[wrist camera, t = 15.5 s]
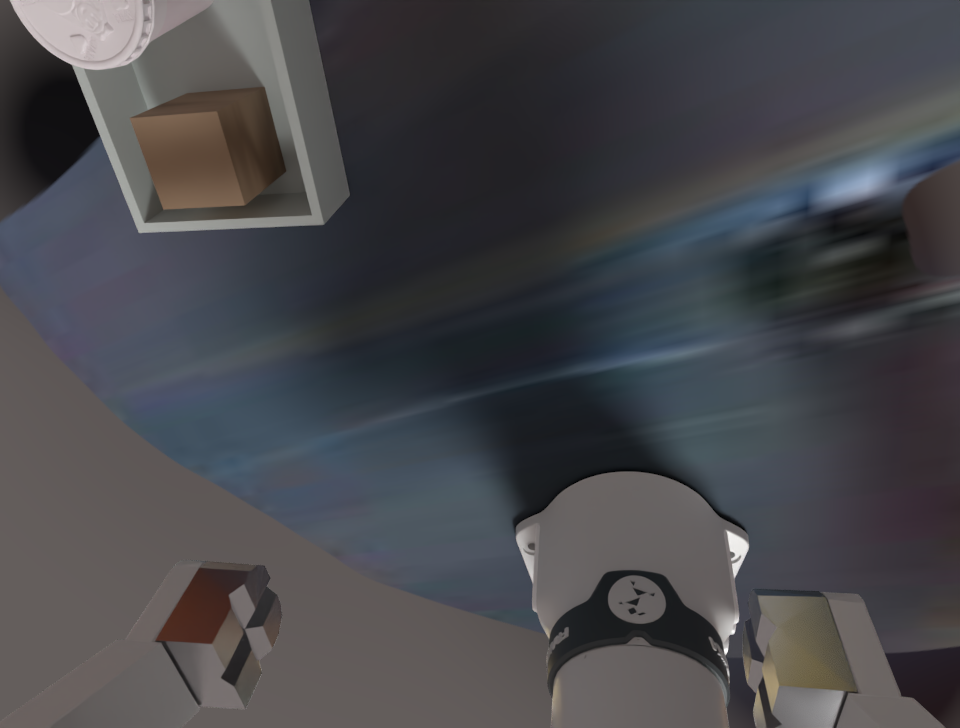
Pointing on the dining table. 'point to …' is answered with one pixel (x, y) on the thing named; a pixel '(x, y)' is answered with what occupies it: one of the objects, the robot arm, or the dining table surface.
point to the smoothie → (102, 27)
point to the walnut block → (210, 148)
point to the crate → (223, 66)
